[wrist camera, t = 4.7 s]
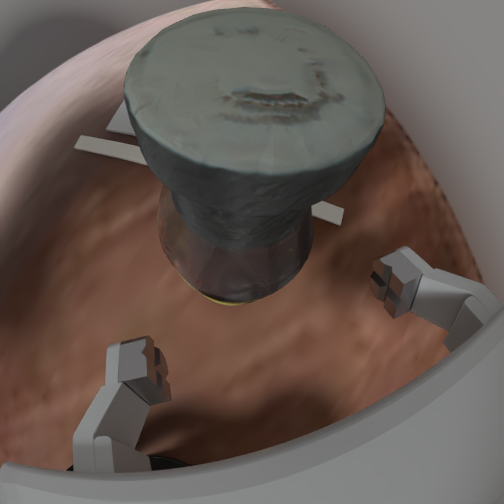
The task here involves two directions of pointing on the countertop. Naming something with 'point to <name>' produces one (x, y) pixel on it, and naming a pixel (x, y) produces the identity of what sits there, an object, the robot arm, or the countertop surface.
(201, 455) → the countertop surface
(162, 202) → the sauce bottle
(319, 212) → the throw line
